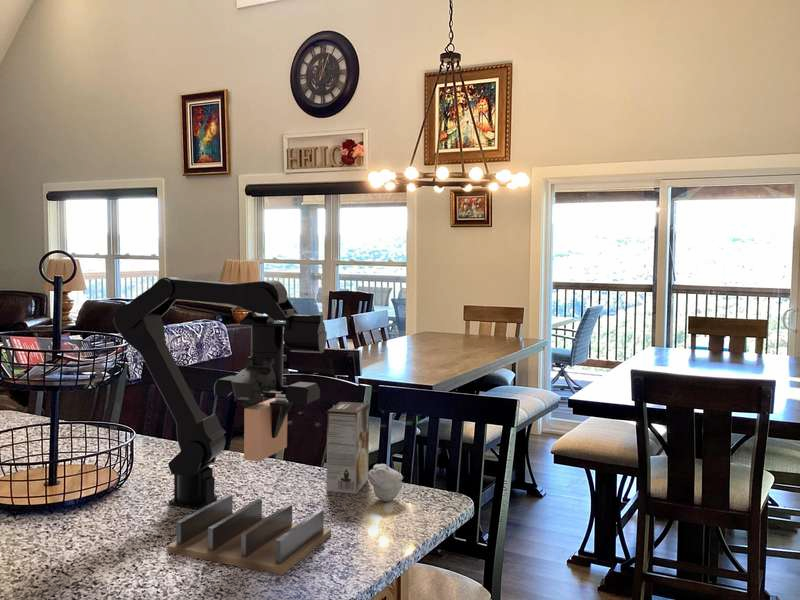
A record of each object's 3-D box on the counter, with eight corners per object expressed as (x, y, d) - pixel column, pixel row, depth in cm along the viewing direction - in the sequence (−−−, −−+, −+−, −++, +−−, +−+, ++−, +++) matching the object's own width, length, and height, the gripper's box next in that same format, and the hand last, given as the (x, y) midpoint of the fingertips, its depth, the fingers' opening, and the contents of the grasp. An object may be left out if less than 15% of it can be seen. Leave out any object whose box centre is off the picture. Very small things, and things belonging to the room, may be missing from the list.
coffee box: (338, 477, 149) (340, 400, 148) (368, 480, 147) (370, 402, 146) (325, 491, 140) (326, 410, 139) (357, 494, 138) (358, 412, 137)
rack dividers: (176, 544, 111) (176, 522, 111) (228, 514, 124) (228, 494, 124) (280, 564, 105) (280, 540, 104) (323, 530, 118) (323, 509, 117)
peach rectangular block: (244, 459, 126) (244, 408, 125) (272, 445, 135) (273, 398, 135) (259, 461, 125) (259, 410, 124) (286, 447, 134) (287, 399, 134)
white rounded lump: (362, 497, 137) (363, 461, 137) (397, 493, 139) (398, 458, 139) (371, 508, 131) (372, 470, 131) (407, 504, 134) (408, 467, 133)
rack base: (167, 552, 110) (167, 545, 110) (227, 517, 125) (227, 511, 125) (282, 575, 103) (282, 568, 103) (331, 535, 118) (331, 529, 118)
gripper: (195, 352, 124) (195, 441, 125) (292, 360, 118) (291, 454, 119) (231, 345, 135) (230, 427, 136) (321, 352, 128) (320, 438, 129)
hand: (266, 436), depth 130 cm, fingers closed on peach rectangular block, 3 cm apart
